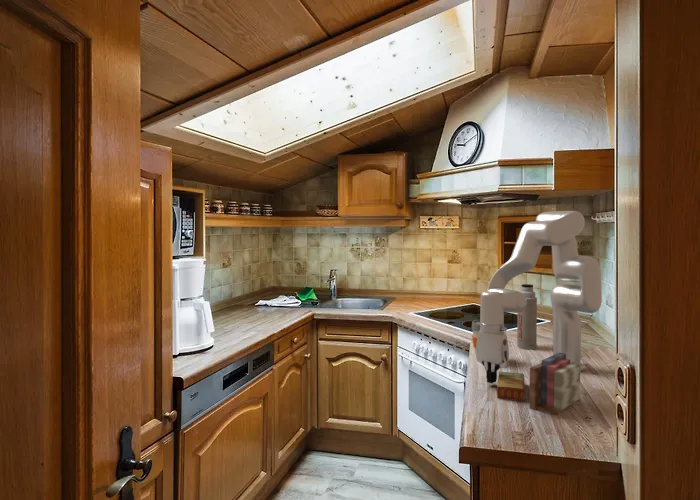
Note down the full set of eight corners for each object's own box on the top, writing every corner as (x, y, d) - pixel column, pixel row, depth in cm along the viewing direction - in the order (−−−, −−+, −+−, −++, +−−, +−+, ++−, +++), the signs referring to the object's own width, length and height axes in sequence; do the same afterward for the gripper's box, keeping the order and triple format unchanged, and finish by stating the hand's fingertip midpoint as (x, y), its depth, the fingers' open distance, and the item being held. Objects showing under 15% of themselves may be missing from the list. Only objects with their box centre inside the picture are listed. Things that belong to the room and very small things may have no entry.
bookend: (556, 392, 143) (557, 350, 142) (582, 399, 137) (583, 355, 136) (529, 408, 131) (529, 361, 130) (556, 416, 125) (556, 367, 124)
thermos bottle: (520, 349, 193) (521, 285, 192) (514, 344, 201) (515, 283, 200) (539, 349, 193) (539, 285, 192) (532, 344, 201) (533, 283, 200)
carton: (496, 399, 139) (496, 385, 139) (498, 382, 154) (498, 370, 154) (525, 402, 136) (525, 388, 136) (524, 384, 151) (524, 372, 151)
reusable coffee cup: (472, 353, 188) (472, 318, 187) (503, 356, 184) (504, 320, 183) (470, 362, 176) (470, 324, 175) (503, 365, 172) (504, 326, 171)
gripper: (518, 330, 146) (518, 385, 147) (478, 323, 157) (478, 374, 158) (506, 333, 141) (505, 390, 142) (466, 326, 152) (466, 379, 153)
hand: (491, 381), depth 150 cm, fingers closed
